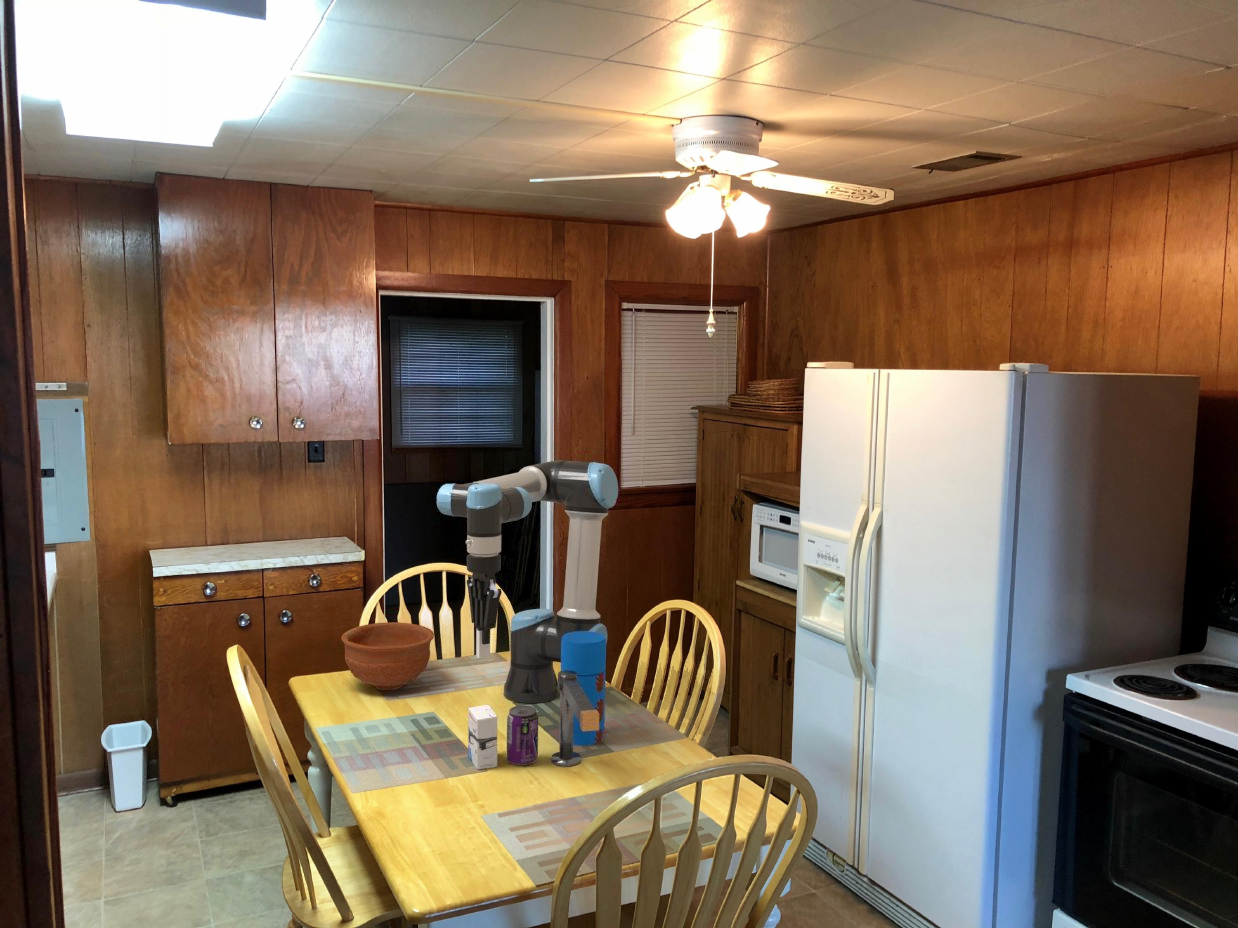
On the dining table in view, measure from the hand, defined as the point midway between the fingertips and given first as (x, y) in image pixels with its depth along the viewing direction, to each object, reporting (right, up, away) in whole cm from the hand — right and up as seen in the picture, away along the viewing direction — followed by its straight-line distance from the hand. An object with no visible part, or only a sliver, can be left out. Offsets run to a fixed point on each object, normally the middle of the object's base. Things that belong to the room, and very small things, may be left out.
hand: (483, 656), depth 216 cm
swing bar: (+22, -9, -9) cm, 25 cm away
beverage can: (+8, -25, +3) cm, 26 cm away
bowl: (-34, -19, +52) cm, 65 cm away
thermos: (+22, -23, +18) cm, 36 cm away
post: (+18, -25, +4) cm, 31 cm away
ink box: (0, -25, +3) cm, 25 cm away
